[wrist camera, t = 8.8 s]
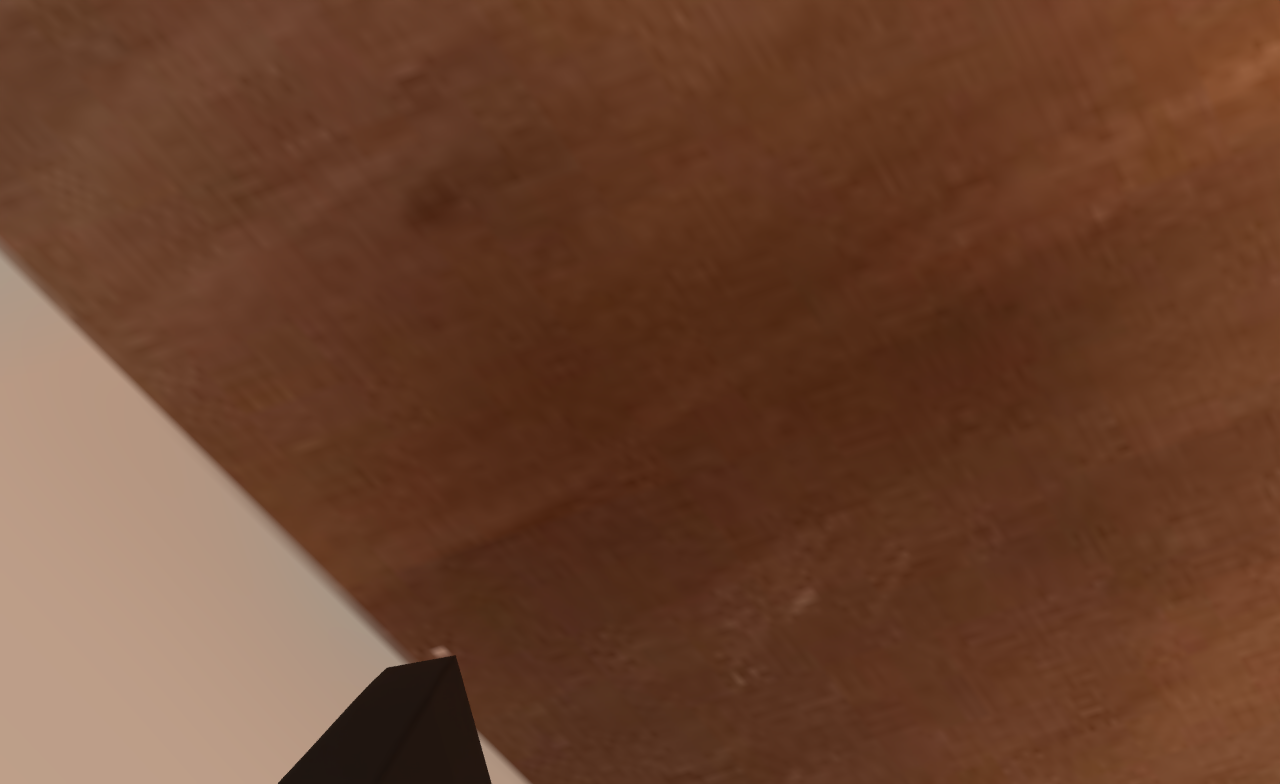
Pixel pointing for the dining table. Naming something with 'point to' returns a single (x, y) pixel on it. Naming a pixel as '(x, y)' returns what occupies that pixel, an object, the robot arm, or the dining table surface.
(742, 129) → the dining table surface
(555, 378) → the dining table surface
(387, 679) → the robot arm
